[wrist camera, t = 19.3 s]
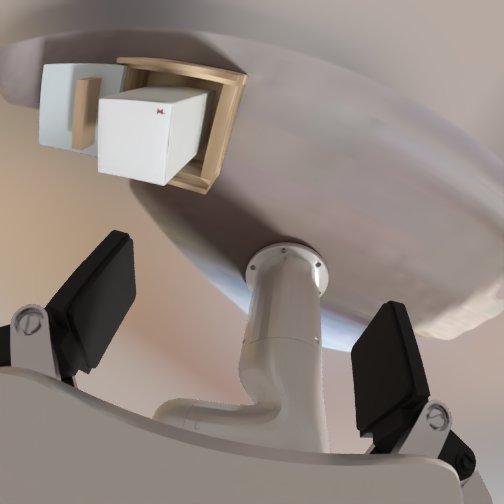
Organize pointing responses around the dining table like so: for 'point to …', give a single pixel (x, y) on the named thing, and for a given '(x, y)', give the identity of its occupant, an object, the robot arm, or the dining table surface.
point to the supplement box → (152, 131)
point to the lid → (75, 103)
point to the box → (222, 118)
